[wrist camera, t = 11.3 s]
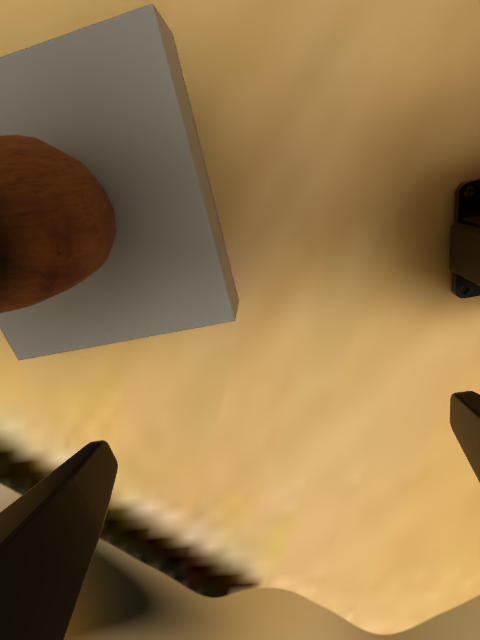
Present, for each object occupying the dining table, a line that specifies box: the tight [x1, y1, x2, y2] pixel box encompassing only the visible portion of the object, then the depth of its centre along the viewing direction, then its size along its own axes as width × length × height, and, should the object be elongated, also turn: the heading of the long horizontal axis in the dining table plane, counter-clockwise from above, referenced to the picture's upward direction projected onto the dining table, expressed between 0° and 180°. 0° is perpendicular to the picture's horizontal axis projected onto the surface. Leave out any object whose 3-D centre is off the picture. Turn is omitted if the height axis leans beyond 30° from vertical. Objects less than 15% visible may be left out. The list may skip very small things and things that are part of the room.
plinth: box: [0, 3, 239, 360], centre depth 18 cm, size 14×14×3 cm
